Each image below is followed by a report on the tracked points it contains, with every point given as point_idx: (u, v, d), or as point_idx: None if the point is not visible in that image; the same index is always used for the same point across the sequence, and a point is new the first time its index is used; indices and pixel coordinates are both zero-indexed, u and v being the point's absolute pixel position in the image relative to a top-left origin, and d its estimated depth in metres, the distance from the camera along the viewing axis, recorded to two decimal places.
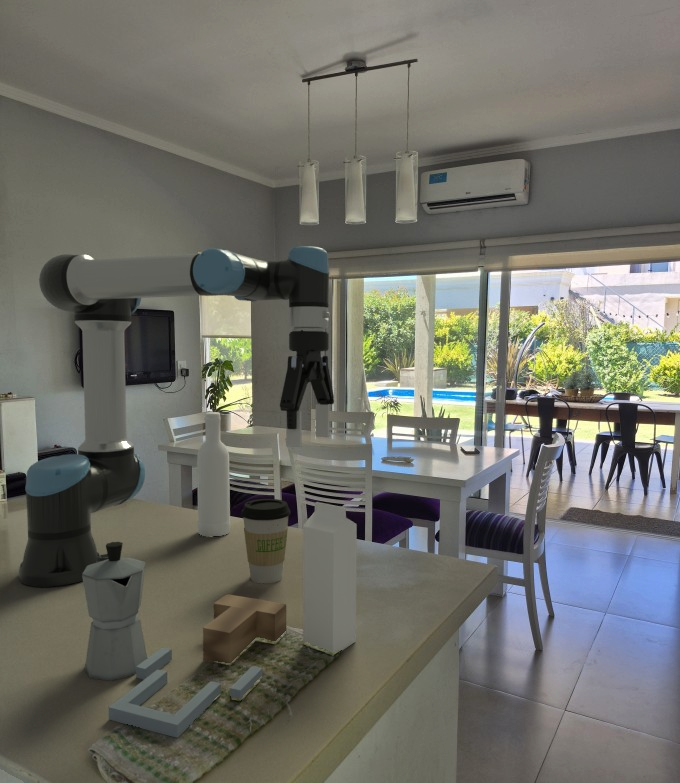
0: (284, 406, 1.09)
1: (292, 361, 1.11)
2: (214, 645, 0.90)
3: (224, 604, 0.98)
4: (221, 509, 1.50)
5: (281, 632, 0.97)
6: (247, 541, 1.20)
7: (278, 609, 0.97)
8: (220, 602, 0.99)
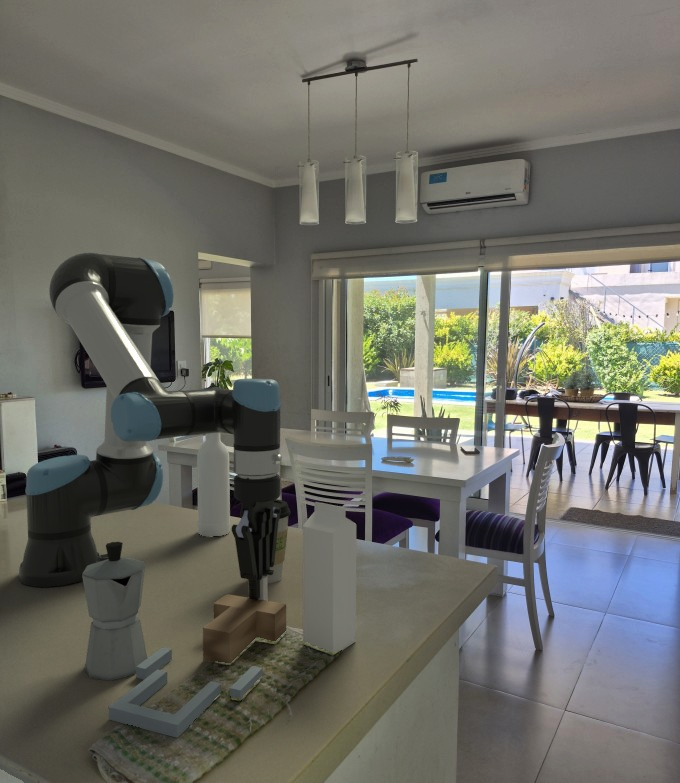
0: (245, 577, 0.98)
1: (237, 533, 0.95)
2: (214, 645, 0.90)
3: (224, 604, 0.98)
4: (221, 509, 1.50)
5: (281, 632, 0.97)
6: None
7: (278, 609, 0.97)
8: (220, 602, 0.99)
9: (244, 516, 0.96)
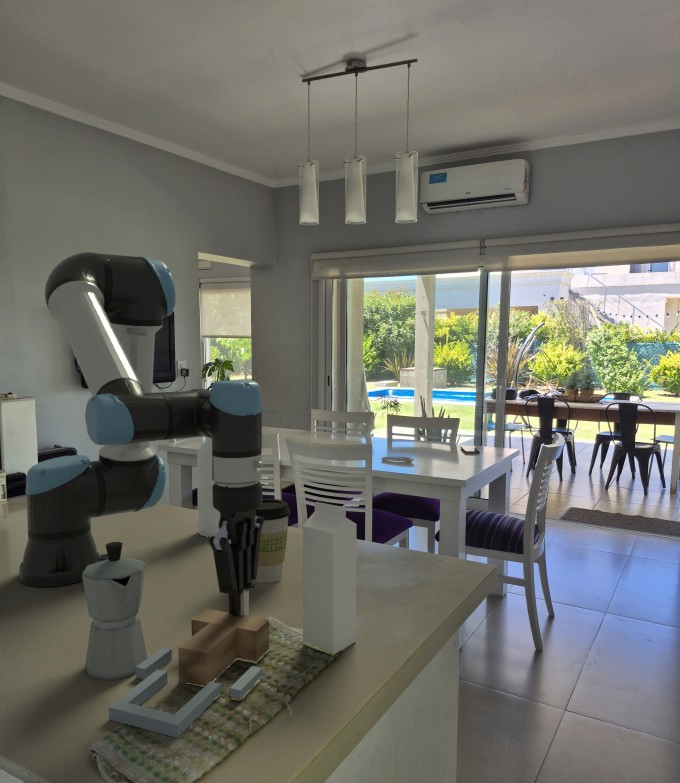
0: (224, 592, 0.92)
1: (215, 545, 0.89)
2: (190, 666, 0.84)
3: (202, 620, 0.92)
4: None
5: (263, 650, 0.91)
6: None
7: (260, 626, 0.91)
8: (198, 618, 0.93)
9: (222, 527, 0.90)
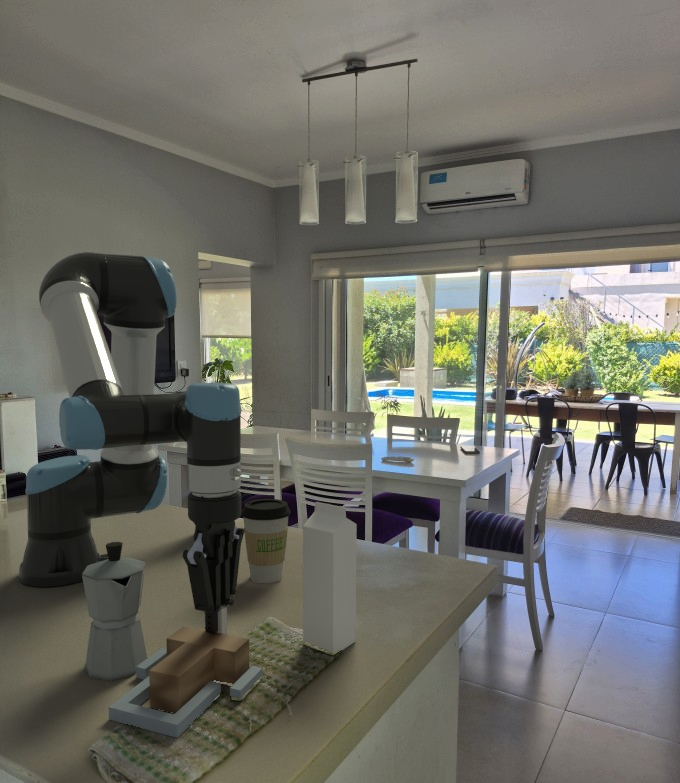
0: (200, 609, 0.86)
1: (190, 560, 0.83)
2: (162, 690, 0.78)
3: (178, 639, 0.86)
4: None
5: (243, 671, 0.85)
6: (247, 541, 1.20)
7: (239, 646, 0.85)
8: (174, 636, 0.87)
9: (197, 540, 0.85)
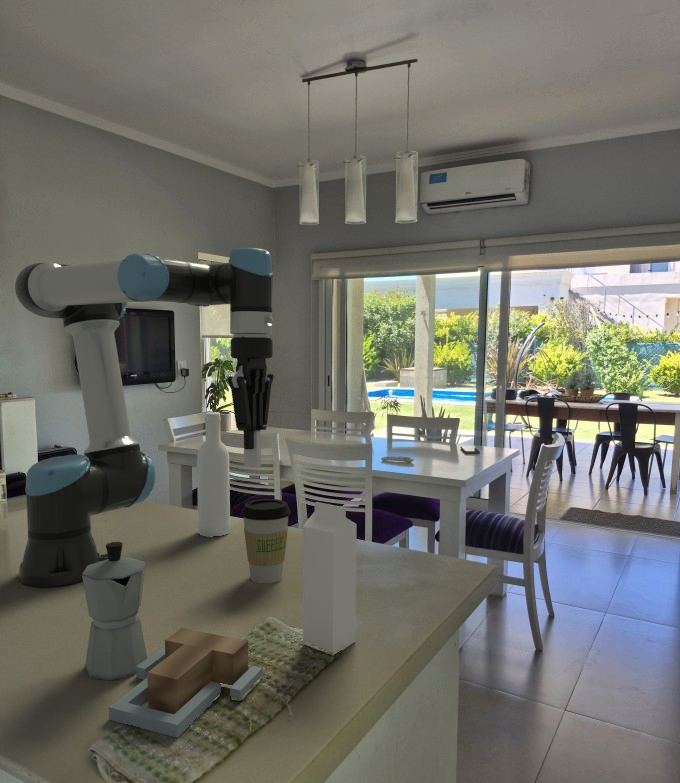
0: (240, 427, 1.09)
1: (233, 383, 1.06)
2: (160, 693, 0.77)
3: (177, 641, 0.86)
4: (221, 509, 1.50)
5: (241, 674, 0.85)
6: (247, 541, 1.20)
7: (238, 648, 0.84)
8: (173, 638, 0.87)
9: (239, 370, 1.07)
